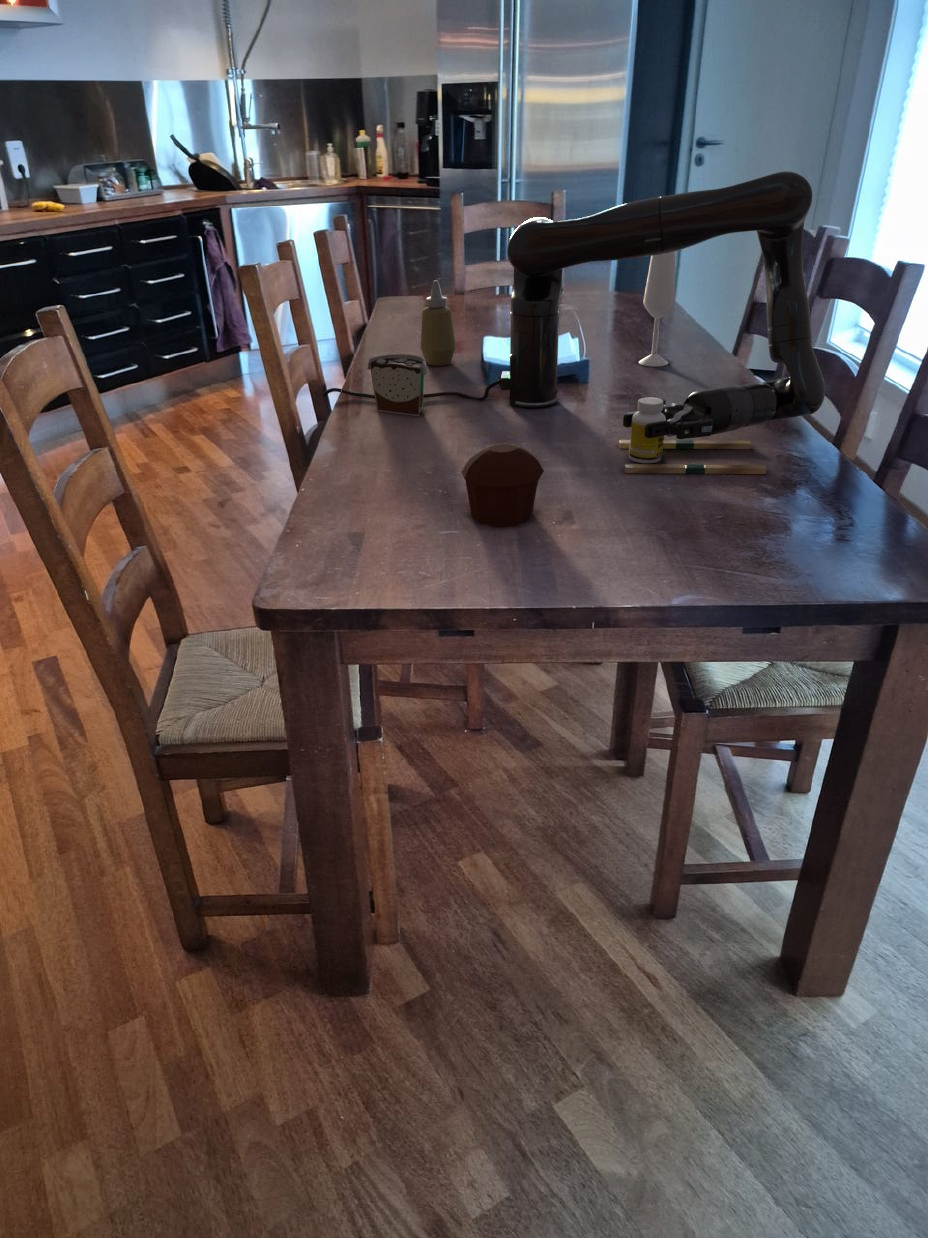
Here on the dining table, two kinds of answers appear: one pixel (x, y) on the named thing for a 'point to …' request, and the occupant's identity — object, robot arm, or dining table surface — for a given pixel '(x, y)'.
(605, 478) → the dining table surface
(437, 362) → the squeeze bottle
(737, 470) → the lane
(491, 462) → the muffin
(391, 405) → the food container
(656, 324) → the champagne flute
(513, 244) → the robot arm
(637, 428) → the supplement bottle
